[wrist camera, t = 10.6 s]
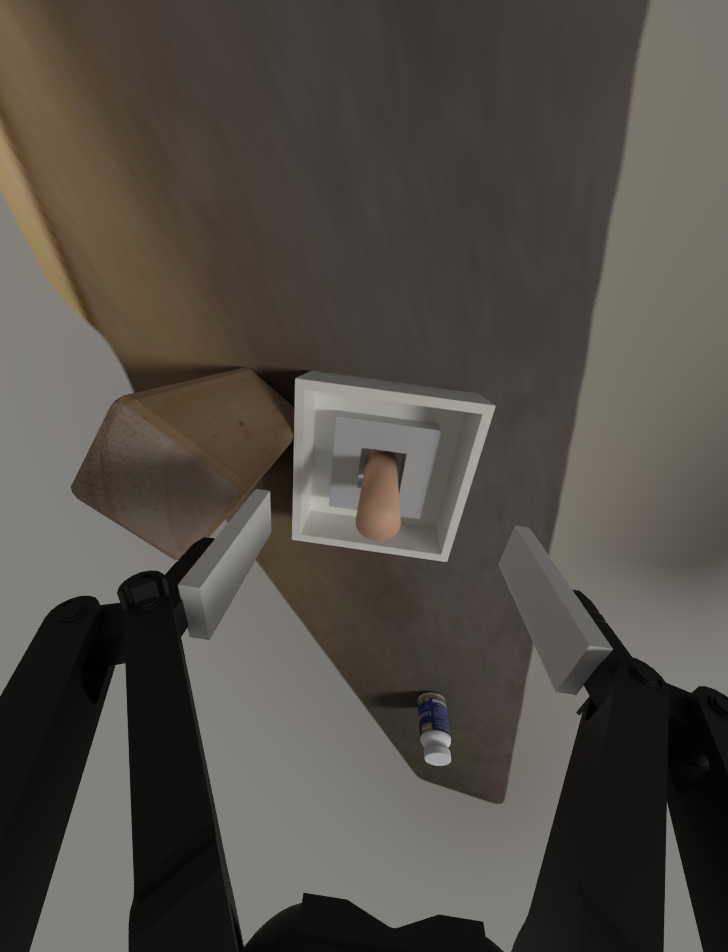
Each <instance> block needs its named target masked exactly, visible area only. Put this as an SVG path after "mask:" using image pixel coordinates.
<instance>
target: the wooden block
mask: <svg viewBox="0 0 728 952" xmlns="http://www.w3.org/2000/svg"><path fill="white" fill-rule="evenodd" d="M294 412H295V407H294V406H292V405H291V404H290V403H289V402H288V401H287V400H285V399H284V398H283V397H282V396H281V395H280V394H278V393H277V392H276V391H275V390H274V389H273V388H271V387H270V386H269V385H268V384H267V383H266V382H264V381H263V380H262V379H261V378H260V377H259V376H257V375H256V374H255V373H254V372H253V371H252V370H250V369H247V368H245V367H244V368H240V369H235V370H231V371H227V372H223V373H218V374H214V375H210V376H205V377H201V378H197V379H193V380H188V381H184V382H180V383H175V384H171V385H167V386H163V387H158V388H154V389H150V390H146V391H141V392H137V393H133V394H128V395H124V396H122V397H121V398H119V399H117V400H116V401H115V402H114V403H113V404H112V405H111V407H110V409H109V410H108V413H107V415H106V417H105V419H104V421H103V423H102V425H101V427H100V429H99V431H98V433H97V435H96V437H95V439H94V441H93V443H92V445H91V447H90V449H89V451H88V453H87V455H86V457H85V459H84V461H83V463H82V465H81V468H80V469H79V471H78V474H77V476H76V478H75V480H74V482H73V484H72V486H71V489H72V492H73V494H74V495H75V496H76V497H77V499H79V500H81V501H82V502H84V503H85V504H87V505H89V506H90V507H92V508H93V509H95V510H97V511H98V512H100V513H101V514H103V515H104V516H106V517H107V518H109V519H111V520H112V521H114V522H115V523H117V524H119V525H120V526H122V527H123V528H125V529H127V530H128V531H130V532H131V533H133V534H134V535H136V536H138V537H139V538H141V539H143V540H144V541H146V542H147V543H149V544H150V545H152V546H153V547H155V548H157V549H158V550H160V551H161V552H163V553H165V554H166V555H168V556H169V557H171V558H173V559H175V560H179V559H180V558H181V556H182V555H183V554H185V552H186V551H187V550H188V549H189V548H190V546H191V545H192V544H193V543H195V542H197V541H198V540H200V539H202V538H203V537H207V538H209V537H210V536H211V535H212V534H213V532H214V531H215V530H216V529H217V528H218V527H219V526H220V524H221V523H222V522H223V521H224V520H225V519H226V518H227V517H228V515H229V514H230V513H231V512H232V511H233V510H234V509H235V507H236V506H237V505H238V504H239V503H240V502H241V501H242V499H243V498H244V497H245V496H246V495H247V494H248V493H249V492H250V490H251V489H252V488H253V487H254V486H255V485H256V484H257V482H258V481H259V480H260V479H261V478H262V477H263V476H264V474H265V473H266V472H267V471H268V470H269V469H270V468H271V466H272V465H273V464H274V463H275V462H276V461H277V459H278V458H279V457H280V456H281V455H282V453H283V452H284V451H285V450H286V449H287V447H288V446H289V445H290V444H291V443H292V441H293V440H294Z"/></svg>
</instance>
